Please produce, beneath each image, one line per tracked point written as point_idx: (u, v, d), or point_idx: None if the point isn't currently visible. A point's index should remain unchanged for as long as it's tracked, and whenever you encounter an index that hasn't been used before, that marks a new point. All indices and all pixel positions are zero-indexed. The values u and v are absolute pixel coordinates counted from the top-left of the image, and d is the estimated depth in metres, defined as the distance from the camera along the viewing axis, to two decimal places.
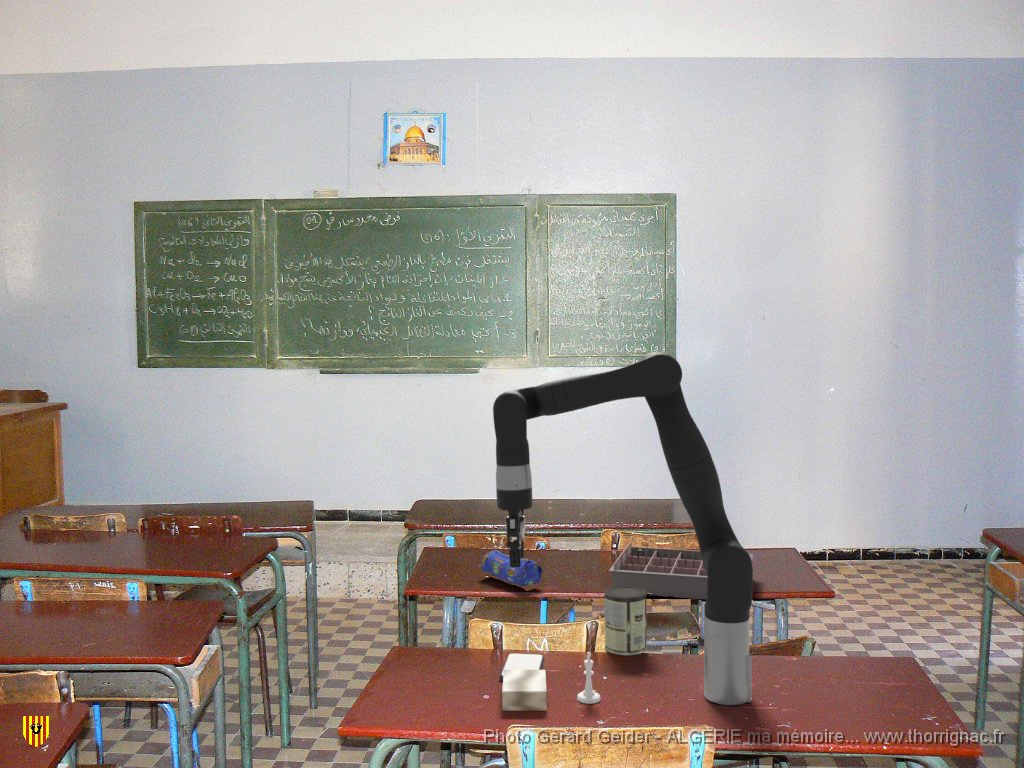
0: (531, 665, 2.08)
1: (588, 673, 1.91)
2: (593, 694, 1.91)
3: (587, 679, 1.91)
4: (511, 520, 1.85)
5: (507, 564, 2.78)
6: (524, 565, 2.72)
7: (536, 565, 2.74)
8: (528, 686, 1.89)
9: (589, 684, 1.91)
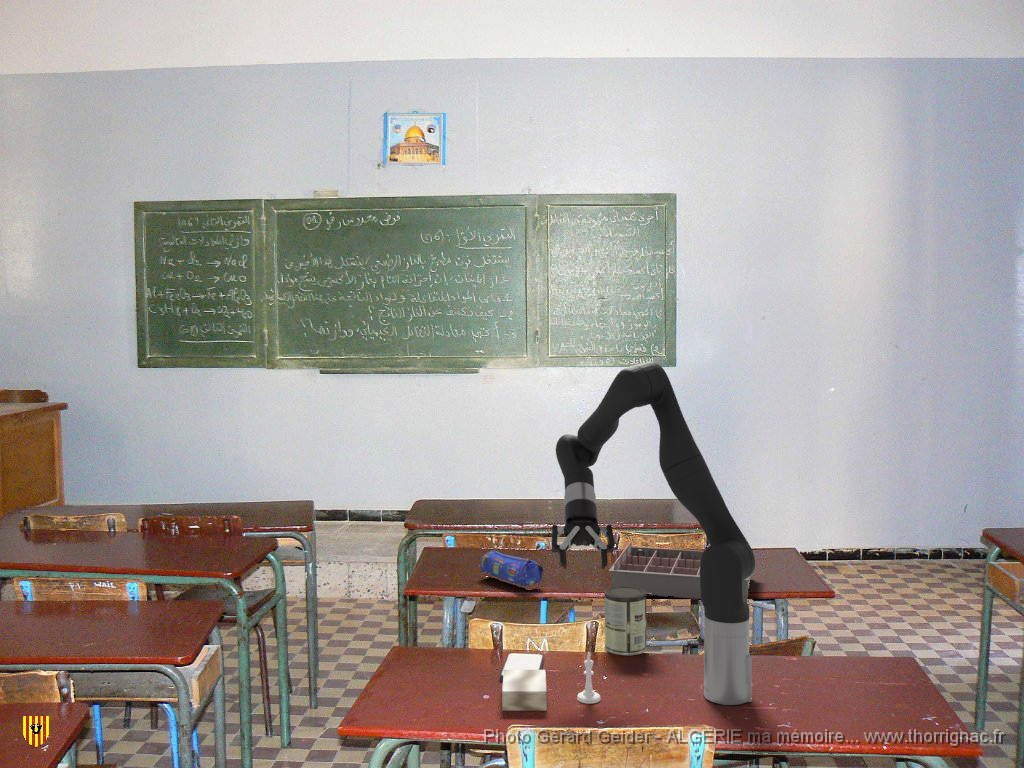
0: (531, 665, 2.09)
1: (588, 673, 1.91)
2: (593, 694, 1.91)
3: (587, 679, 1.91)
4: None
5: (507, 564, 2.78)
6: (525, 565, 2.72)
7: (537, 565, 2.75)
8: (528, 686, 1.89)
9: (589, 684, 1.91)
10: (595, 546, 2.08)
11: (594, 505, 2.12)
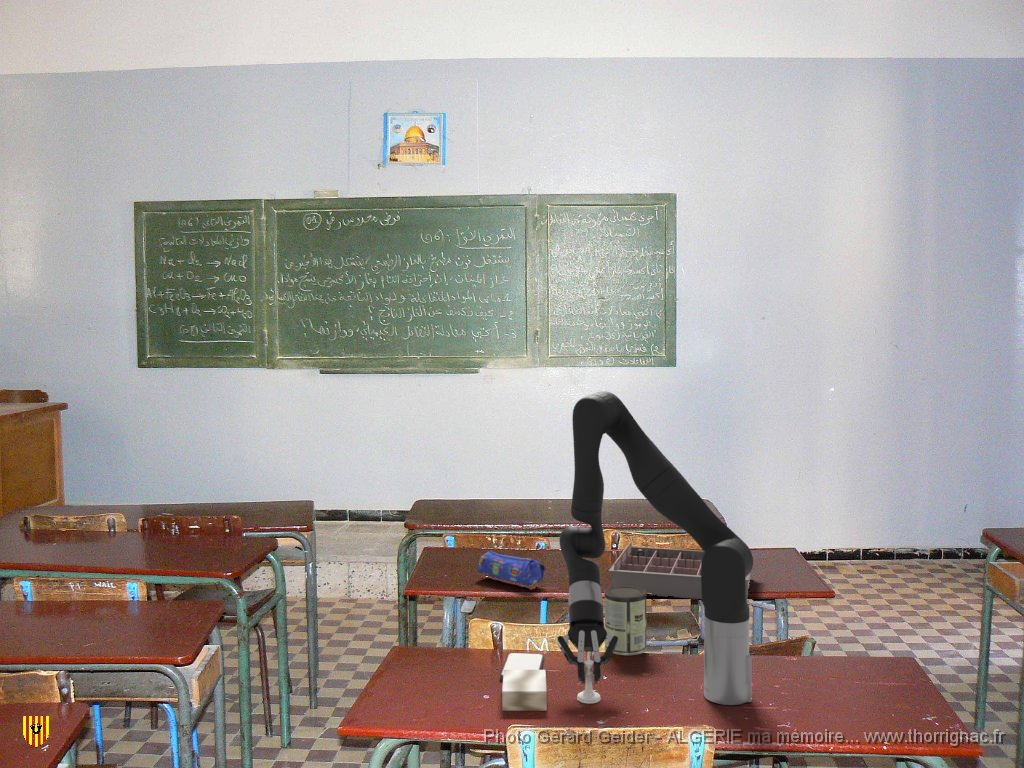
0: (531, 665, 2.09)
1: (588, 673, 1.91)
2: (593, 694, 1.91)
3: (587, 679, 1.91)
4: (557, 641, 1.96)
5: (508, 564, 2.77)
6: (528, 564, 2.73)
7: (539, 564, 2.76)
8: (528, 686, 1.89)
9: (589, 684, 1.91)
10: (592, 654, 1.94)
11: (600, 606, 1.99)
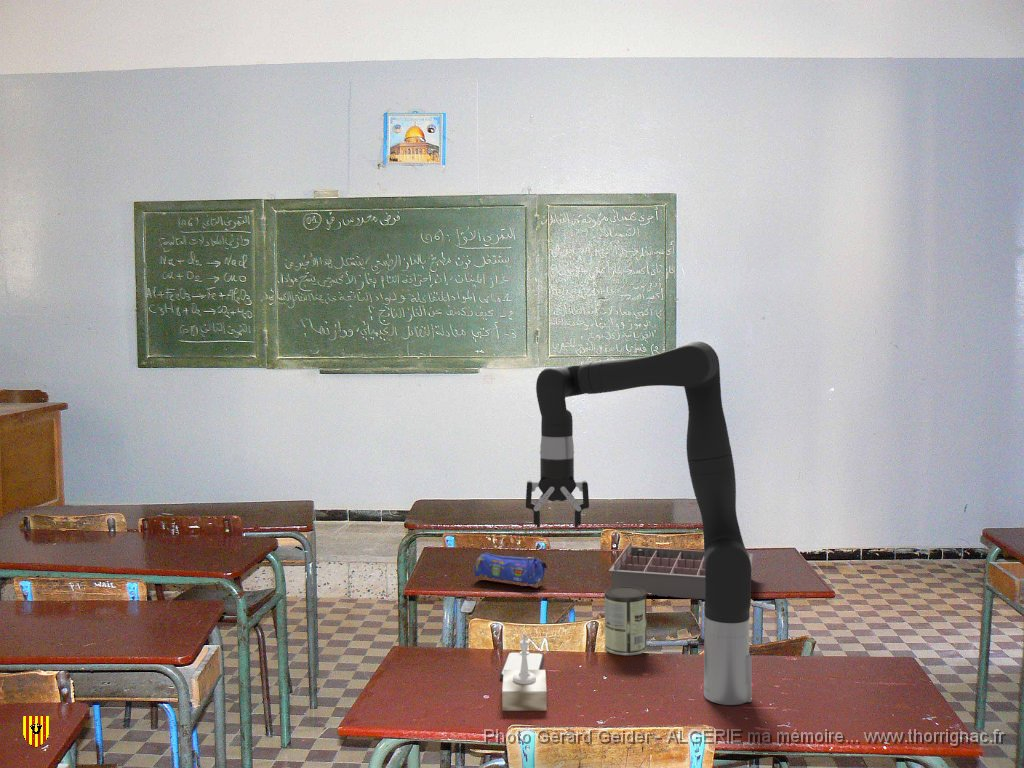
0: (531, 664, 2.09)
1: (523, 654, 1.91)
2: (528, 675, 1.91)
3: (522, 660, 1.91)
4: (527, 482, 2.06)
5: (510, 565, 2.77)
6: (533, 563, 2.74)
7: (540, 562, 2.78)
8: (528, 686, 1.89)
9: (524, 665, 1.91)
10: None
11: (571, 462, 2.03)
